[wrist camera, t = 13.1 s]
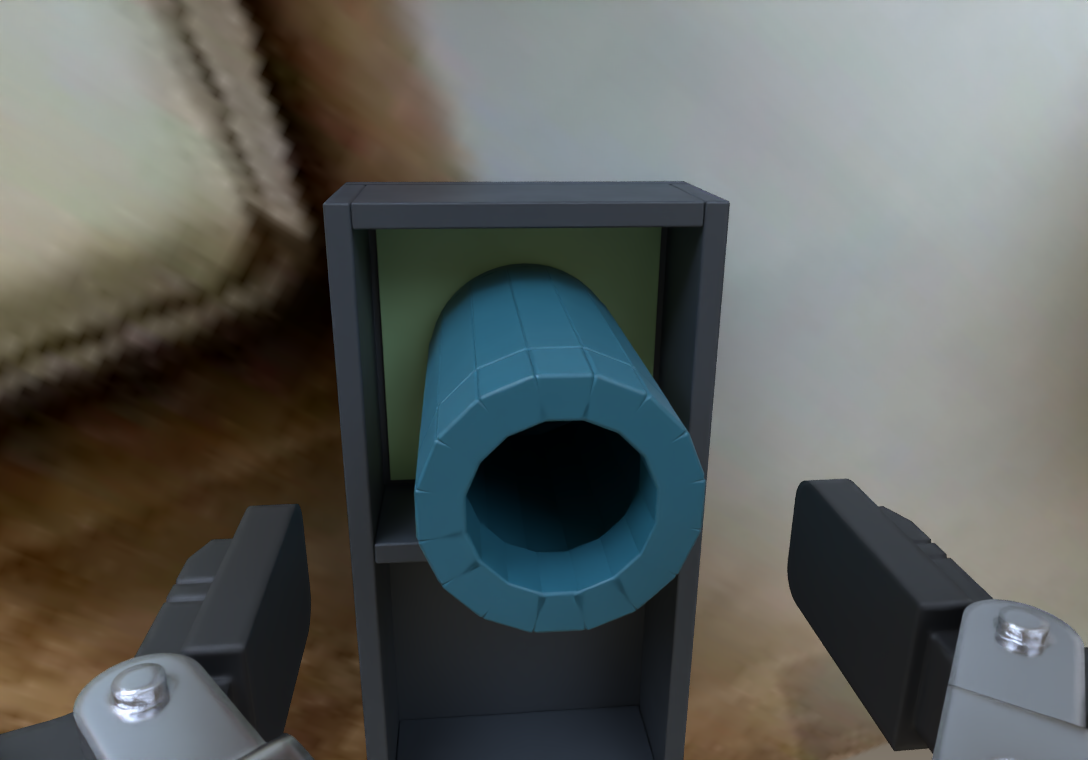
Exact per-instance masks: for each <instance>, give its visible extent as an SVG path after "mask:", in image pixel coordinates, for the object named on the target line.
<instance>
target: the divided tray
mask: <svg viewBox="0 0 1088 760" xmlns="http://www.w3.org/2000/svg"><path fill="white" fill-rule="evenodd" d="M729 207H730V203H729V201H727V200H724V199H722V198H720V197H718V196H716V195H713V194H711V193H709V192H707V191H704V190H702V189H700V188H698V187H695V186H693V185H691V184H689V183H686V182H684V181H661V182H347V183H345V184H344V185H343V186H342V187H341V188H340V189H339V190H338V191H336V192H335V193H334V194H333V195H332V196H331V197H330V198H329V199H328V200H327V201H326V202H325V203H324V204H323V213H324V226H325V238H326V251H327V263H328V276H329V288H330V301H331V313H332V326H333V338H334V351H335V363H336V376H337V388H338V401H339V413H340V426H341V438H342V451H343V463H344V476H345V488H346V501H347V513H348V526H349V538H350V551H351V563H352V576H353V588H354V601H355V613H356V626H357V638H358V651H359V663H360V676H361V688H362V701H363V713H364V726H365V738H366V751H367V760H683V757H684V745H685V733H686V721H687V709H688V697H689V685H690V673H691V661H692V649H693V637H694V625H695V613H696V601H697V589H698V577H699V565H700V553H701V541H702V530H703V520H702V528H701V532H700V534H699V536H698V538H697V540H696V542H695V544H694V546H693V547H692V549H691V551H690V553H689V555H688V557H687V559H686V561H685V562H684V564H683V566H682V568H681V570H680V572H679V574H677V575H676V577H675V578H674V579H673V580H672V581H670V582H669V583H668V584H667V585H666V586H665V587H664V588H662V589H661V590H660V591H659V592H658V593H657V594H656V595H654V596H653V597H652V598H651V599H650V600H649V601H647V602H646V603H645V604H644V605H643V606H642V607H641V608H639V609H636V611H635V612H633V613H630V614H628V615H625V616H623V617H620V618H618V619H615V620H613V621H610V622H608V623H605V624H603V625H600V626H598V627H595V628H593V629H590V630H587V629H586V628H585V630H582V631H563V632H544V633H536V632H534V631H533V632H532V633H529V632H526V631H522V630H519V629H516V628H512V627H509V626H506V625H502V624H499V623H495V622H492V621H489V620H485V619H484V618H483V617H479V616H478V615H477V614H475V613H474V612H473V611H472V610H470V609H469V608H468V607H466V606H465V605H464V604H463V603H461V602H460V601H459V600H457V599H456V598H455V597H454V596H452V595H451V594H450V593H448V592H447V591H446V590H445V589H443V587H442V584H441V583H440V582H439V581H438V580H437V578H436V576H435V574H434V572H433V570H432V568H431V566H430V565H429V563H428V561H427V559H426V557H425V555H424V553H423V551H422V550H421V548H420V546H419V540H418V539H417V538H416V522H415V501H414V489H415V479H416V469H417V459H418V448H419V438H420V429H421V419H422V409H423V399H424V390H425V380H426V370H427V361H428V351H429V344H430V341H431V338H432V334H433V331H434V328H435V325H436V322H437V320H438V318H439V315H440V313H441V311H442V310H443V308H444V307H445V305H446V304H447V302H448V301H449V300H450V299H451V297H452V296H453V295H454V294H455V293H456V292H457V291H458V290H459V289H460V288H461V287H462V286H464V285H465V284H466V283H467V282H469V281H470V280H472V279H473V278H475V277H476V276H478V275H480V274H482V273H484V272H486V271H489V270H492V269H495V268H497V267H501V266H506V265H511V264H522V263H527V264H540V265H545V266H550V267H553V268H556V269H559V270H562V271H564V272H566V273H568V274H570V275H572V276H574V277H575V278H577V279H578V280H580V281H581V282H583V283H584V284H585V285H586V286H587V287H588V288H589V289H591V290H592V291H593V293H594V294H595V295H596V296H597V297H598V298H599V300H600V301H601V302H602V303H603V304H604V305H605V306H606V307H607V309H608V310H609V312H610V313H611V315H612V316H613V318H614V319H615V321H616V322H617V324H618V325H619V327H620V328H621V330H622V331H623V333H624V334H625V336H626V337H627V339H628V341H629V342H630V344H631V345H632V347H633V348H634V350H635V351H636V353H637V354H638V356H639V357H640V359H641V360H642V362H643V363H644V365H645V366H646V368H647V369H648V371H649V372H650V374H651V375H652V377H653V378H654V380H655V381H656V383H657V384H658V386H659V388H660V389H661V391H662V392H663V394H664V395H665V397H666V398H667V400H668V401H669V403H670V405H671V406H672V408H673V409H674V411H675V412H676V414H677V416H678V417H679V419H680V420H681V422H682V423H683V425H684V426H685V428H686V429H687V431H688V432H689V434H690V436H691V439H692V442H693V445H694V447H695V450H696V453H697V455H698V458H699V461H700V464H701V466H702V469H703V472H704V479H705V481H706V482H707V470H708V458H709V446H710V434H711V422H712V410H713V398H714V386H715V374H716V362H717V350H718V338H719V326H720V314H721V302H722V291H723V279H724V267H725V255H726V243H727V231H728V219H729ZM705 494H706V485H705ZM704 506H705V497H704ZM703 518H704V509H703Z"/></svg>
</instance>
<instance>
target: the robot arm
mask: <svg viewBox="0 0 1088 760" xmlns="http://www.w3.org/2000/svg"><path fill="white" fill-rule="evenodd" d="M787 572H788V582H789V587H790V591H791V594H792V597H793V599H794V601H795V603H796V605H797V606H798V608H799V609H800V611H801V612H802V614H803V615H804V617H805V618H806V620H807V621H808V623H809V624H810V626H811V627H812V629H813V630H814V632H815V633H816V635H817V636H818V638H819V639H820V641H821V642H822V644H823V645H824V647H825V648H826V650H827V651H828V653H829V654H830V656H831V657H832V659H833V660H834V662H835V663H836V665H837V666H838V668H839V669H840V671H841V672H842V674H843V675H844V677H845V678H846V680H847V681H848V683H849V684H850V686H851V687H852V689H853V690H854V692H855V693H856V695H857V696H858V698H859V699H860V701H861V702H862V704H863V705H864V707H865V708H866V710H867V711H868V713H869V714H870V716H871V717H872V719H873V720H874V722H875V723H876V725H877V726H878V728H879V729H880V731H881V732H882V734H883V735H884V737H885V738H886V740H887V741H888V743H889V744H890V745H891V747H892V748H893V750H894V751H901V750H914V749H926V748H929V749H930V750H931V752H932V753H933V758H932V760H1088V648H1087V647H1084V644H1083V641H1082V639H1081V637H1080V636H1079V635H1078V634H1077V632H1076V631H1075V630H1074V629H1073V628H1072V627H1070V626H1069V625H1068V624H1067V623H1065V622H1064V621H1063V620H1061V619H1059V618H1058V617H1056V616H1054V615H1052V614H1050V613H1048V612H1046V611H1044V610H1041V609H1039V608H1036V607H1034V606H1030V605H1027V604H1024V603H1019V602H1015V601H1009V600H999V599H993V598H992V597H991V596H990V595H989V594H988V593H987V592H986V591H985V590H984V589H983V588H981V587H980V586H979V585H978V584H977V583H976V582H975V581H974V580H973V579H972V578H971V577H970V576H969V575H968V574H967V573H966V572H965V571H964V570H963V569H961V568H960V567H959V566H958V565H957V564H956V563H955V562H954V561H953V560H952V559H951V558H947V556H946V553H945V552H944V551H942V550H941V549H940V548H939V547H938V546H937V545H936V544H935V543H931V539H930V538H929V537H928V536H927V535H926V534H925V533H924V532H922V531H921V530H920V529H919V528H918V527H917V526H916V525H915V524H914V523H913V522H912V521H910V520H908V519H906V518H904V517H903V516H901V515H899V514H897V513H895V512H893V511H891V510H889V509H887V508H885V507H884V506H880V507H878V506H877V505H876V504H875V503H874V502H873V501H872V500H871V499H870V498H869V497H868V496H867V495H866V494H865V493H864V492H863V491H862V490H861V489H860V488H859V487H858V486H857V485H856V484H855V483H854V482H853V481H851V480H849V479H830V480H809V481H802V482H801V483H800V485H799V486H798V489H797V492H796V497H795V505H794V514H793V522H792V531H791V539H790V547H789V556H788V566H787ZM310 614H311V595H310V584H309V574H308V565H307V555H306V546H305V537H304V527H303V519H302V512H301V509H300V506H299V504H282V505H261V506H249V507H248V508H247V509H246V511H245V513H244V516H243V518H242V520H241V522H240V524H239V526H238V528H237V530H236V533H235V535H234V537H233V539H215V540H211V541H210V542H209V543H207V544H206V545H205V546H204V547H202V548H201V549H200V550H198V551H197V552H196V553H195V554H193V555H192V556H191V557H190V558H188V559H187V561H186V563H185V565H184V567H183V569H182V571H181V572H180V574H179V576H178V578H177V580H176V585H173V587H172V589H171V591H170V593H169V595H168V596H167V602H166V603H164V604H163V606H162V607H161V609H160V611H159V613H158V615H157V617H156V619H155V620H154V622H153V624H152V626H151V628H150V630H149V631H148V633H147V635H146V637H145V639H144V641H143V642H142V644H141V646H140V648H139V650H138V652H137V654H136V655H135V657H134V658H132V659H129V660H127V661H124V662H121V663H119V664H117V665H115V666H113V667H111V668H109V669H107V670H106V671H104V672H102V673H101V674H99V675H98V676H97V677H95V678H94V679H93V680H92V681H90V682H89V683H88V684H87V685H86V686H85V687H84V689H83V690H82V691H81V692H80V694H79V695H78V697H77V699H76V701H75V704H74V708H73V712H72V713H70V714H67V715H65V716H62V717H59V718H56V719H53V720H50V721H46V722H43V723H39V724H35V725H32V726H28V727H25V728H21V729H17V730H14V731H10V732H7V733H3V734H0V760H314V758H313V757H312V756H311V755H310V754H309V753H308V752H307V751H306V749H305V748H304V747H303V746H302V745H301V744H300V743H299V742H298V741H297V740H296V739H295V738H294V737H293V736H291V735H289V734H287V733H283V731H284V727H285V723H286V719H287V715H288V711H289V707H290V703H291V699H292V695H293V691H294V687H295V683H296V680H297V676H298V672H299V668H300V664H301V660H302V656H303V652H304V648H305V644H306V640H307V636H308V631H309V625H310Z"/></svg>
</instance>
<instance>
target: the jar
mask: <svg viewBox="0 0 1088 760" xmlns="http://www.w3.org/2000/svg"><path fill="white" fill-rule="evenodd" d="M705 485H706V481H705V479H704V472H703V469H702V466H701V464H700V461H699V458H698V455H697V453H696V450H695V447H694V445H693V442H692V439H691V436H690V434H689V432H688V431H687V429H686V428H685V426H684V425H683V423H682V422H681V420H680V419H679V417H678V416H677V414H676V412H675V411H674V409H673V408H672V406H671V405H670V403H669V401H668V400H667V398H666V397H665V395H664V394H663V392H662V391H661V389H660V388H659V386H658V384H657V383H656V381H655V380H654V378H653V377H652V375H651V374H650V372H649V371H648V369H647V368H646V366H645V365H644V363H643V362H642V360H641V359H640V357H639V356H638V354H637V353H636V351H635V350H634V348H633V347H632V345H631V344H630V342H629V341H628V339H627V337H626V336H625V334H624V333H623V331H622V330H621V328H620V327H619V325H618V324H617V322H616V321H615V319H614V318H613V316H612V315H611V313H610V312H609V310H608V309H607V307H606V306H605V305H604V304H603V303H602V302H601V301H600V300H599V298H598V297H597V296H596V295H595V294H594V293H593V291H592V290H591V289H589V288H588V287H587V286H586V285H585V284H584V283H583V282H581V281H580V280H578V279H577V278H575V277H574V276H572V275H570V274H568V273H566V272H564V271H562V270H559V269H556V268H553V267H550V266H545V265H540V264H527V263H522V264H511V265H506V266H501V267H497V268H495V269H492V270H489V271H486V272H484V273H482V274H480V275H478V276H476V277H475V278H473V279H472V280H470V281H469V282H467V283H466V284H465V285H464V286H462V287H461V288H460V289H459V290H458V291H457V292H456V293H455V294H454V295H453V296H452V297H451V299H450V300H449V301H448V302H447V304H446V305H445V307H444V308H443V310H442V311H441V313H440V315H439V318H438V320H437V322H436V325H435V328H434V331H433V334H432V338H431V341H430V344H429V351H428V361H427V370H426V380H425V390H424V399H423V409H422V419H421V429H420V438H419V448H418V459H417V469H416V479H415V489H414V501H415V522H416V538H417V539H418V540H419V546H420V548H421V550H422V551H423V553H424V555H425V557H426V559H427V561H428V563H429V565H430V566H431V568H432V570H433V572H434V574H435V576H436V578H437V580H438V581H439V582H440V583H441V584H442V587H443V589H445V590H446V591H447V592H448V593H450V594H451V595H452V596H454V597H455V598H456V599H457V600H459V601H460V602H461V603H463V604H464V605H465V606H466V607H468V608H469V609H470V610H472V611H473V612H474V613H475V614H477V615H478V616H479V617H483V618H484V619H485V620H489V621H492V622H495V623H499V624H502V625H506V626H509V627H512V628H516V629H519V630H522V631H526V632H529V633H532V632H533V631H534V632H536V633H544V632H563V631H582V630H585V628H586V629H587V630H590V629H593V628H595V627H598V626H600V625H603V624H605V623H608V622H610V621H613V620H615V619H618V618H620V617H623V616H625V615H628V614H630V613H633V612H635V611H636V609H639V608H641V607H642V606H643V605H644V604H645V603H646V602H647V601H649V600H650V599H651V598H652V597H653V596H654V595H656V594H657V593H658V592H659V591H660V590H661V589H662V588H664V587H665V586H666V585H667V584H668V583H669V582H670V581H672V580H673V579H674V578H675V577H676V575H677V574H679V572H680V570H681V568H682V566H683V564H684V562H685V561H686V559H687V557H688V555H689V553H690V551H691V549H692V547H693V546H694V544H695V542H696V540H697V538H698V536H699V534H700V532H701V528H702V520H703V509H704V497H705Z"/></svg>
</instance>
